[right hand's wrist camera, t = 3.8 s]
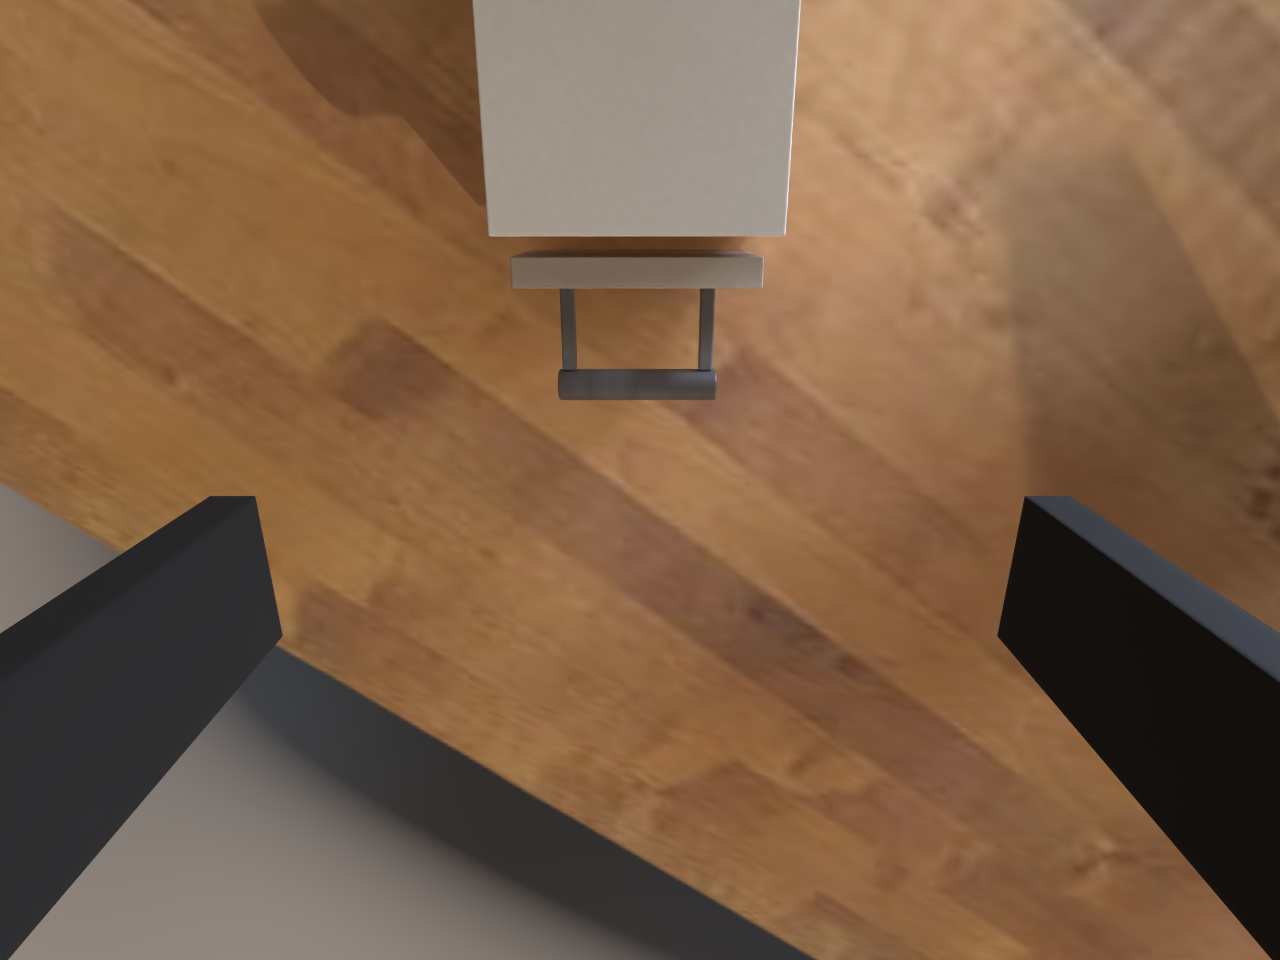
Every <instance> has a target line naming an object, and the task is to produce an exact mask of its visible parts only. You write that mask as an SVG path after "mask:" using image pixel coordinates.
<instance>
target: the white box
mask: <svg viewBox="0 0 1280 960" xmlns="http://www.w3.org/2000/svg"><path fill="white" fill-rule="evenodd" d="M800 4H801V0H472V5H473V20H474V34H475V49H476V63H477V78H478V92H479V107H480V121H481V135H482V150H483V164H484V179H485V193H486V208H487V222H488V235H489V236H785V233H786V218H787V203H788V187H789V172H790V157H791V142H792V126H793V111H794V96H795V81H796V65H797V50H798V35H799V20H800Z"/></svg>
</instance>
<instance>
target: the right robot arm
mask: <svg viewBox="0 0 1280 960" xmlns="http://www.w3.org/2000/svg"><path fill="white" fill-rule="evenodd" d="M282 636H283V635H282V630H281V625H280V620H279V615H278V610H277V605H276V600H275V595H274V590H273V585H272V580H271V574H270V569H269V564H268V559H267V554H266V549H265V544H264V539H263V534H262V529H261V524H260V519H259V514H258V509H257V503H256V498H255V496H210V497H208V498H207V499H205V500H204V501H202V502H201V503H199V504H198V505H196V506H194V507H193V508H191V509H190V510H188V511H187V512H185V513H184V514H182V515H181V516H179V517H178V518H176V519H175V520H173V521H172V522H170V523H168V524H167V525H165V526H164V527H162V528H161V529H159V530H158V531H156V532H155V533H153V534H152V535H150V536H149V537H147V538H146V539H144V540H143V541H141V542H139V543H138V544H136V545H135V546H133V547H132V548H130V549H129V550H127V551H126V552H124V553H123V554H121V555H120V556H118V557H117V558H115V559H114V560H112V561H110V562H109V563H108V564H106V565H104V566H103V567H101V568H100V569H98V570H97V571H95V572H94V573H92V574H91V575H89V576H88V577H86V578H85V579H83V580H81V581H80V582H78V583H77V584H75V585H74V586H72V587H71V588H69V589H68V590H66V591H65V592H63V593H62V594H60V595H58V596H57V597H55V598H54V599H52V600H51V601H49V602H48V603H46V604H45V605H43V606H42V607H40V608H39V609H37V610H36V611H34V612H33V613H31V614H30V615H28V616H26V617H25V618H23V619H22V620H20V621H19V622H17V623H16V624H14V625H13V626H11V627H10V628H8V629H7V630H5V631H4V632H2V633H0V960H8V959H9V958H10V957H11V956H12V954H13V953H14V952H15V951H16V950H17V948H18V947H19V946H20V945H21V944H22V943H23V941H24V940H25V939H26V938H27V937H28V936H29V934H30V933H31V932H32V931H33V930H34V928H35V927H36V926H37V925H38V924H39V923H40V921H41V920H42V919H43V918H44V917H45V915H46V914H47V913H48V912H49V911H50V910H51V908H52V907H53V906H54V905H55V904H56V903H57V901H58V900H59V899H60V898H61V897H62V895H63V894H64V893H65V892H66V891H67V889H68V888H69V887H70V886H71V885H72V884H73V882H74V881H75V880H76V879H77V878H78V877H79V875H80V874H81V873H82V872H83V871H84V870H85V868H86V867H87V866H88V865H89V864H90V862H91V861H92V860H93V859H94V858H95V857H96V855H97V854H98V853H99V852H100V851H101V849H102V848H103V847H104V846H105V845H106V844H107V842H108V841H109V840H110V839H111V838H112V837H113V835H114V834H115V833H116V832H117V831H118V829H119V828H120V827H121V826H122V825H123V824H124V822H125V821H126V820H127V819H128V818H129V816H130V815H131V814H132V813H133V812H134V811H135V809H136V808H137V807H138V806H139V805H140V803H141V802H142V801H143V800H144V799H145V798H146V796H147V795H148V794H149V793H150V792H151V791H152V789H153V788H154V787H155V786H156V785H157V783H158V782H159V781H160V780H161V779H162V777H163V776H164V775H165V774H166V773H167V772H168V771H169V769H170V768H171V767H172V766H173V765H174V763H175V762H176V761H177V760H178V759H179V758H180V756H181V755H182V754H183V753H184V752H185V750H186V749H187V748H188V747H189V746H190V745H191V743H192V742H193V741H194V740H195V739H196V738H197V736H198V735H199V734H200V733H201V732H202V730H203V729H204V728H205V727H206V726H207V725H208V723H209V722H210V721H211V720H212V719H213V717H214V716H215V715H216V714H217V713H218V712H219V710H220V709H221V708H222V707H223V706H224V705H225V703H226V702H227V701H228V700H229V699H230V697H231V696H232V695H233V694H234V693H235V691H236V690H237V689H238V688H239V687H240V686H241V684H242V683H243V682H244V681H245V680H246V679H247V677H248V676H249V675H250V674H251V673H252V671H253V670H254V669H255V668H256V667H257V666H258V664H259V663H260V662H261V661H262V660H263V659H264V657H265V656H266V655H267V654H268V653H269V651H270V650H271V649H272V648H273V647H274V646H275V644H276V643H277V642H278V641H279V640H280V639H281V637H282ZM997 636H998V637H999V639H1000V640H1001V641H1002V642H1003V643H1004V644H1005V646H1006V647H1007V648H1008V649H1009V650H1010V651H1011V653H1012V654H1013V655H1014V656H1015V657H1016V659H1017V660H1018V661H1019V662H1020V663H1021V664H1022V666H1023V667H1024V668H1025V669H1026V670H1027V672H1028V673H1029V674H1030V675H1031V676H1032V677H1033V679H1034V680H1035V681H1036V682H1037V683H1038V684H1039V686H1040V687H1041V688H1042V689H1043V690H1044V692H1045V693H1046V694H1047V695H1048V696H1049V697H1050V699H1051V700H1052V701H1053V702H1054V703H1055V705H1056V706H1057V707H1058V708H1059V709H1060V710H1061V712H1062V713H1063V714H1064V715H1065V716H1066V717H1067V719H1068V720H1069V721H1070V722H1071V723H1072V725H1073V726H1074V727H1075V728H1076V729H1077V730H1078V732H1079V733H1080V734H1081V735H1082V736H1083V738H1084V739H1085V740H1086V741H1087V742H1088V743H1089V745H1090V746H1091V747H1092V748H1093V749H1094V750H1095V752H1096V753H1097V754H1098V755H1099V756H1100V758H1101V759H1102V760H1103V761H1104V762H1105V763H1106V765H1107V766H1108V767H1109V768H1110V769H1111V771H1112V772H1113V773H1114V774H1115V775H1116V776H1117V778H1118V779H1119V780H1120V781H1121V782H1122V783H1123V785H1124V786H1125V787H1126V788H1127V789H1128V791H1129V792H1130V793H1131V794H1132V795H1133V796H1134V798H1135V799H1136V800H1137V801H1138V802H1139V804H1140V805H1141V806H1142V807H1143V808H1144V809H1145V811H1146V812H1147V813H1148V814H1149V815H1150V816H1151V818H1152V819H1153V820H1154V821H1155V822H1156V824H1157V825H1158V826H1159V827H1160V828H1161V829H1162V831H1163V832H1164V833H1165V834H1166V835H1167V837H1168V838H1169V839H1170V840H1171V841H1172V842H1173V844H1174V845H1175V846H1176V847H1177V848H1178V849H1179V851H1180V852H1181V853H1182V854H1183V855H1184V857H1185V858H1186V859H1187V860H1188V861H1189V862H1190V864H1191V865H1192V866H1193V867H1194V868H1195V870H1196V871H1197V872H1198V873H1199V874H1200V875H1201V877H1202V878H1203V879H1204V880H1205V881H1206V882H1207V884H1208V885H1209V886H1210V887H1211V888H1212V890H1213V891H1214V892H1215V893H1216V894H1217V895H1218V897H1219V898H1220V899H1221V900H1222V901H1223V903H1224V904H1225V905H1226V906H1227V907H1228V908H1229V910H1230V911H1231V912H1232V913H1233V914H1234V915H1235V917H1236V918H1237V919H1238V920H1239V921H1240V923H1241V924H1242V925H1243V926H1244V927H1245V928H1246V930H1247V931H1248V932H1249V933H1250V934H1251V936H1252V937H1253V938H1254V939H1255V940H1256V941H1257V943H1258V944H1259V945H1260V946H1261V947H1262V948H1263V950H1264V951H1265V952H1266V953H1267V954H1268V956H1269V957H1270V958H1271V959H1272V960H1280V633H1278V632H1277V631H1275V630H1273V629H1272V628H1270V627H1269V626H1267V625H1266V624H1264V623H1263V622H1261V621H1260V620H1258V619H1257V618H1255V617H1254V616H1252V615H1251V614H1249V613H1247V612H1246V611H1244V610H1243V609H1241V608H1240V607H1238V606H1237V605H1235V604H1234V603H1232V602H1231V601H1229V600H1228V599H1226V598H1225V597H1223V596H1222V595H1220V594H1218V593H1217V592H1215V591H1214V590H1212V589H1211V588H1209V587H1208V586H1206V585H1205V584H1203V583H1202V582H1200V581H1199V580H1197V579H1196V578H1194V577H1192V576H1191V575H1189V574H1188V573H1186V572H1185V571H1183V570H1182V569H1180V568H1179V567H1177V566H1176V565H1174V564H1173V563H1171V562H1170V561H1168V560H1167V559H1165V558H1163V557H1162V556H1160V555H1159V554H1157V553H1156V552H1154V551H1153V550H1151V549H1150V548H1148V547H1147V546H1145V545H1144V544H1142V543H1141V542H1139V541H1137V540H1136V539H1134V538H1133V537H1131V536H1130V535H1128V534H1127V533H1125V532H1124V531H1122V530H1121V529H1119V528H1118V527H1116V526H1115V525H1113V524H1112V523H1110V522H1108V521H1107V520H1105V519H1104V518H1102V517H1101V516H1099V515H1098V514H1096V513H1095V512H1093V511H1092V510H1090V509H1089V508H1087V507H1086V506H1084V505H1082V504H1081V503H1079V502H1078V501H1076V500H1075V499H1073V498H1072V497H1070V496H1025V498H1024V503H1023V509H1022V514H1021V519H1020V524H1019V529H1018V534H1017V539H1016V544H1015V549H1014V554H1013V559H1012V564H1011V569H1010V574H1009V580H1008V585H1007V590H1006V595H1005V600H1004V605H1003V610H1002V615H1001V620H1000V625H999V630H998V635H997Z"/></svg>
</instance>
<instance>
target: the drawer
mask: <svg viewBox="0 0 1280 960" xmlns="http://www.w3.org/2000/svg"><path fill="white" fill-rule="evenodd" d="M510 265H511V282H512V288H513V289H560V305H561V332H562V359H563V369H560V370H559V374H558V393H559V398H560V400H715V398H716V393H717V374H716V370H715V369H712V359H713V330H714V301H715V288H762V285H763V267H764V257H761V256H758V255H756V254H753V253H750V252H747V251H744V250H531V251H528V252H525V253H522V254H519V255H516V256H513V257H511V258H510ZM605 288H700V314H699V350H698V368H699V369H576V368H577V348H576V315H575V289H605Z"/></svg>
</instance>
